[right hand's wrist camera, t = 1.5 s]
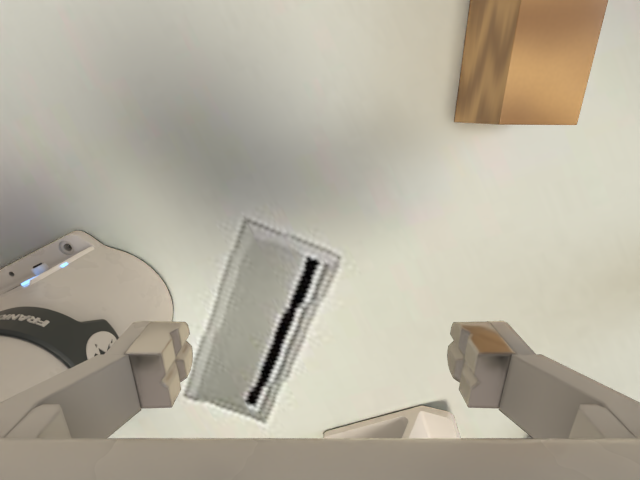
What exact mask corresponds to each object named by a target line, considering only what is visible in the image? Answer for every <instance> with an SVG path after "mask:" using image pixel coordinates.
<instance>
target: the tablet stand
mask: <svg viewBox="0 0 640 480" xmlns="http://www.w3.org/2000/svg"><path fill="white" fill-rule="evenodd" d="M324 438H461V437H460V434H459V431H458V427H457V424H456V421H455V417H454V415H453V414H452V413H450V412H448V411H444V410H440V409H435V408H431V407H427V406H418V407H414V408H411V409H407V410H403V411H399V412H396V413H392V414H388V415H385V416H381V417H377V418H373V419H370V420H366V421H362V422H358V423H355V424H351V425H347V426H344V427H340V428H336V429H332V430H329V431H326V432H325V433H324Z"/></svg>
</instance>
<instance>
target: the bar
mask: <svg viewBox="0 0 640 480" xmlns="http://www.w3.org/2000/svg"><path fill="white" fill-rule="evenodd" d="M607 3H608V0H470V7H469V14H468V22H467V29H466V37H465V44H464V52H463V59H462V67H461V74H460V82H459V89H458V97H457V104H456V112H455V119H454V122H463V123H482V124H512V125H577V122H578V118H579V114H580V110H581V106H582V102H583V98H584V94H585V90H586V86H587V82H588V78H589V74H590V70H591V66H592V62H593V58H594V54H595V50H596V46H597V42H598V38H599V34H600V30H601V26H602V22H603V19H604V15H605V11H606V7H607Z"/></svg>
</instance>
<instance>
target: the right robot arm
mask: <svg viewBox="0 0 640 480" xmlns="http://www.w3.org/2000/svg"><path fill="white" fill-rule="evenodd" d="M68 244H69V245H71V247H72V248H70V247H69V245H68ZM172 318H173V304H172V300H171V296H170V293H169V291H168V289H167V287H166V285H165V283H164V282H163V280H162V279H161V278H160V276H159V275H158V274H157V273H156V272H155V271H154V270H153V269H152V268H151V267H150V266H149V265H147V264H146V263H145V262H143V261H142V260H140V259H138V258H137V257H135V256H133V255H131V254H129V253H126V252H123V251H120V250H117V249H114V248H110V247H108V246H105V245H103V244H102V243H100V242H99V241H98V240H96V239H95V238H93V237H92V236H90V235H89V234H87V233H85V232H83V231H73V232H71V233H69V234H67V235H65V236H63V237H61V238H59V239H57V240H56V241H54V242H52V243H50V244H48V245H46V246H44V247H42V248H40V249H38V250H36V251H34V252H33V253H31V254H29V255H27V256H25V257H23V258H21V259H19V260H17V261H15V262H13V263H11V264H9V265H8V266H6V267H4V268H2V269H0V480H640V402H637V401H635V400H633V399H631V398H629V397H627V396H625V395H623V394H621V393H619V392H617V391H615V390H613V389H611V388H609V387H607V386H605V385H603V384H601V383H599V382H597V381H595V380H593V379H590V378H588V377H586V376H584V375H582V374H580V373H578V372H576V371H574V370H572V369H570V368H568V367H566V366H564V365H562V364H560V363H558V362H556V361H554V360H552V359H550V358H548V357H546V356H543V355H536V354H535V353H534V352H533V351H532V349H531V348H530V347H529V346H528V345H527V344H526V343H525V342H524V341H523V340H522V338H521V337H520V336H519V335H518V334H517V333H516V332H515V331H514V330H513V329H512V327H511V326H510V325H509V324H508V323H507V322H504V321H487V322H453V324H452V327H451V332H450V334H451V336H452V338H453V340H454V341H453V342H452V343H451V344H450V345H449V346H448V352H447V359H448V366H449V370H450V373H451V375H452V377H453V378H454V379H455V380H457V381H458V382H460V386H459V391H460V392H461V394H462V396H463V398H464V400H465V402H466V404H467V406H468V407H469V408H499V410H500V411H501V412H502V413H503V414H504V415H506V416H507V417H508V418H509V419H510V420H512V421H513V422H514V423H515V424H517V425H518V426H519V427H520V428H521V429H523V430H524V431H525V432H526V433H527V434H529V435H530V436H531V437H532V438H108V437H109V436H110V435H112V434H113V433H114V432H115V431H116V430H118V429H119V428H120V427H121V426H122V425H124V424H125V423H126V422H127V421H128V420H130V419H131V418H132V417H133V416H134V415H136V414H137V413H138V412H139V411H141V408H170V407H172V406H173V404H174V402H175V400H176V398H177V396H178V394H179V392H180V391H181V386H180V382H182V381H183V380H185V379H186V378H187V377H188V375H189V372H190V370H191V366H192V361H193V351H192V346H191V345H190V344H189V343H188V342H187V341H186V340H187V338H188V336H189V334H190V332H189V327H188V324H187V323H186V322H172Z"/></svg>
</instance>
